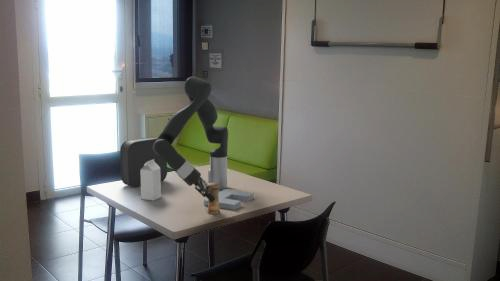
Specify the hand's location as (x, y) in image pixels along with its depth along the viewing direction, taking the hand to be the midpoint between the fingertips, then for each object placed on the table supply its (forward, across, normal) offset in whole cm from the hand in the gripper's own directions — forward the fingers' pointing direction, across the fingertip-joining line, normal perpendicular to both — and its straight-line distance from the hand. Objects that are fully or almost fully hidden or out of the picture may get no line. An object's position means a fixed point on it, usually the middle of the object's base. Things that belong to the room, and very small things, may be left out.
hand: (213, 197), depth 216 cm
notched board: (+10, +16, 0) cm, 19 cm away
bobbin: (+5, 0, +5) cm, 7 cm away
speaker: (-23, +50, +33) cm, 64 cm away
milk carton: (-17, +22, +27) cm, 39 cm away
